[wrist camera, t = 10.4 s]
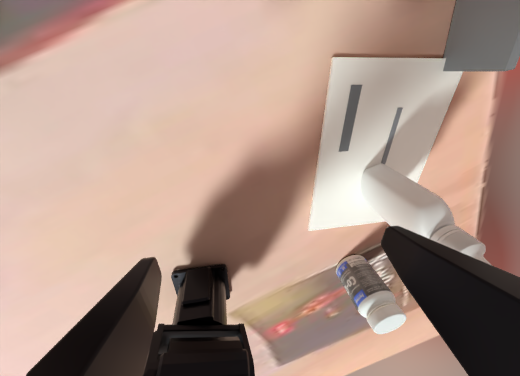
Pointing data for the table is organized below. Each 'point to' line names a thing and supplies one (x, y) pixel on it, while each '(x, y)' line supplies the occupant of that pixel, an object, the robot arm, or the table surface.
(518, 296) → the robot arm
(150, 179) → the table surface
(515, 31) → the gray rectangular block
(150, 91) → the table surface
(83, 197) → the table surface
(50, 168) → the table surface
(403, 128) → the paper sheet
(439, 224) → the white plastic bottle
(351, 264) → the pill bottle
